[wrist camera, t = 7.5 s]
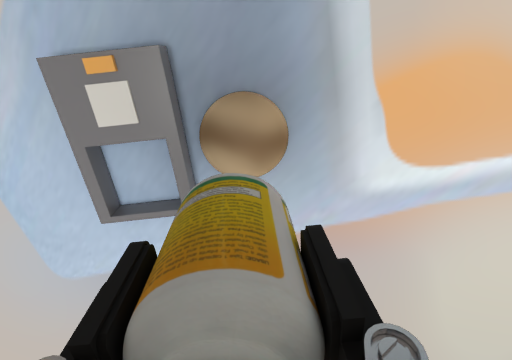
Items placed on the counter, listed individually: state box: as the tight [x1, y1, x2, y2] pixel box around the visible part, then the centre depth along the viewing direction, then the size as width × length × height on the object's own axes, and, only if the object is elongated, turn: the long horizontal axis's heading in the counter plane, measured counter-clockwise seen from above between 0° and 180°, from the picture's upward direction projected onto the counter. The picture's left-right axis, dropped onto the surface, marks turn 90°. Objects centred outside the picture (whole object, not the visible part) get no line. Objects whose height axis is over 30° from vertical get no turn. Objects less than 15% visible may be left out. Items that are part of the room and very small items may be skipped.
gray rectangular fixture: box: [36, 45, 195, 224], centre depth 26 cm, size 16×10×3 cm, turn 6°
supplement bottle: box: [123, 173, 325, 360], centre depth 9 cm, size 5×5×10 cm
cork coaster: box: [200, 91, 288, 177], centre depth 27 cm, size 9×9×1 cm
